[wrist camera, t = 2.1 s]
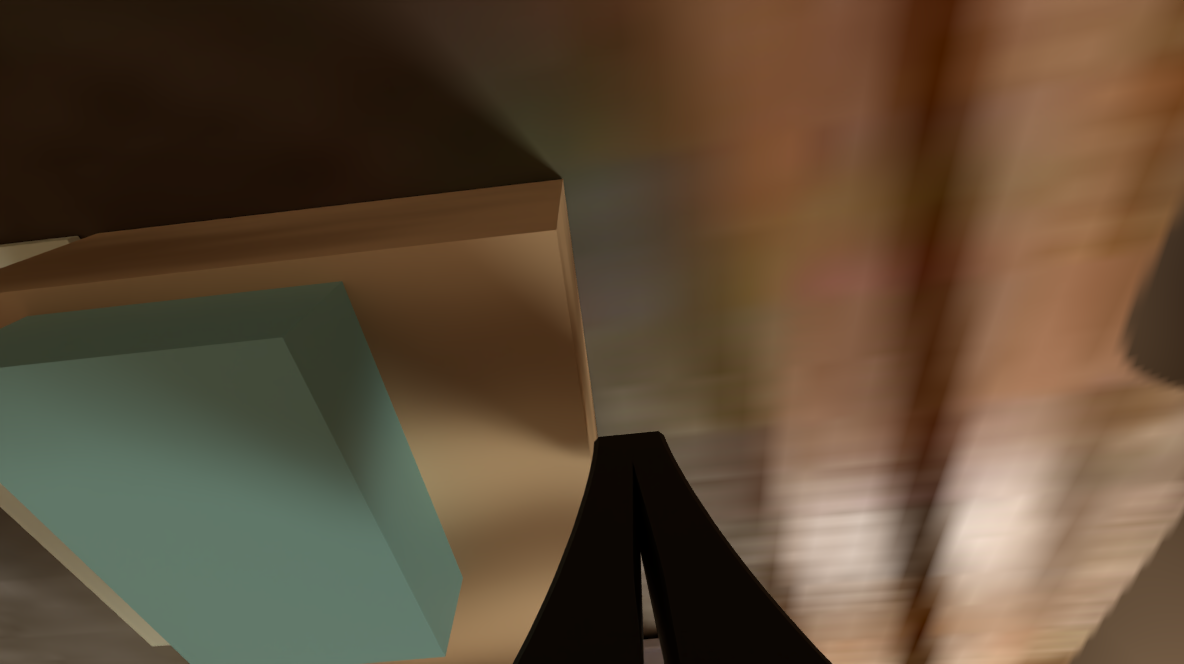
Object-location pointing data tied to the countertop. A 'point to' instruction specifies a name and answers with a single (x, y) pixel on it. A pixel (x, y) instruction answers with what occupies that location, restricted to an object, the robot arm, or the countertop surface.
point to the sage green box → (231, 475)
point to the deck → (411, 356)
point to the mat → (13, 507)
